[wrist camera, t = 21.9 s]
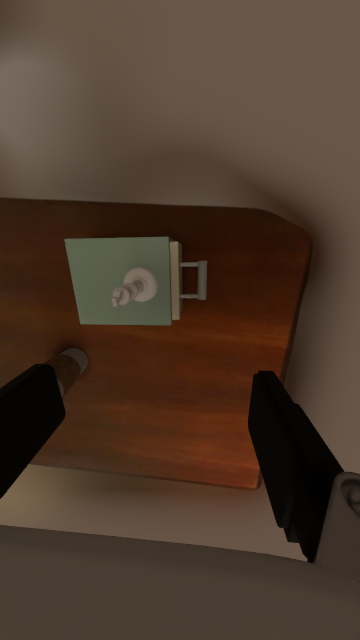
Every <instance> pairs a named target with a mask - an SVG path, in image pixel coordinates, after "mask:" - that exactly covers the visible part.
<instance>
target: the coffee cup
mask: <svg viewBox="0 0 360 640" xmlns="http://www.w3.org/2000/svg"><path fill="white" fill-rule="evenodd" d="M43 364H49V365H51V366H52V368H54V370H55V373H56V377H57V381H58V385H59V388H60V392H61V396H62V399H63V398H64V396H65V395H66V393H67V392H68V391H69V389H70V388H71V387H72V385H73V384H74V383H75V381H76V380H77V379H78V377H79V376H80V375H81V373H82V372H83V371H84V370H85V368H86V367H87V365H88V358H87V356H86V354H85V353H84V352H83V351H81V350H80V349H77V348H69V349H67V350H65V351H64V352H62V353H60V354H59V355H57V356H55V357H53V358H51V359H50V360H48V361H46V362H44V363H43Z"/></svg>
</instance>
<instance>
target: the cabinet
mask: <svg viewBox="0 0 360 640" xmlns="http://www.w3.org/2000/svg"><path fill="white" fill-rule="evenodd" d="M64 240H65V245H66V250H67V256H68V261H69V266H70V271H71V277H72V282H73V287H74V293H75V298H76V303H77V308H78V314H79V319H80V324H111V325H171V324H172V321H173V320H172V305H171V271H170V242H176V241H175V240H173V239H171V238H170V237H130V238H85V239H64ZM136 267H143V268H147V269H149V270H150V271H151V272H152V273H153V274H154V275H155V277H156V279H157V282H158V289H157V292H156V294H155V296H154V297H153V298H151V299H150V300H148V301H144V302H139V301H135V300H132V301H130V302H129V303H128V304H126V305H118V307H114V306H113V302H111V301H112V298H113V296H112V294H113V291H114V289H115V288H117V287H121V286H122V285H123V282H124V278H125V276H126V274H127V273H128V272H129V271H130V270H131V269H133V268H136Z"/></svg>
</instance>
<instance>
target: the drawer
mask: <svg viewBox="0 0 360 640" xmlns="http://www.w3.org/2000/svg"><path fill="white" fill-rule="evenodd" d="M190 266H198V294H183V292H182V267H190ZM170 271H171V305H172V320H179V319H180V315H181V311H182V307H183V298H198V299H199V300H205V299H206V286H207V261H198V262H182V244H181V243H179V242H170Z"/></svg>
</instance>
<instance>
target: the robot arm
mask: <svg viewBox="0 0 360 640" xmlns="http://www.w3.org/2000/svg"><path fill="white" fill-rule="evenodd" d="M64 418H65V408H64V404H63V400H62V396H61V392H60V388H59V385H58V381H57V377H56V373H55V370H54V368H52V366H51V365H49V364H35V365H33V366H32V367H30V368H29V369H28V370H26V371H25V372H23V373H22V374H20V375H19V376H17V377H16V378H15V379H13V380H12V381H10V382H9V383H7V384H6V385H4V386H3V387H2V388H0V499H1V498H2V497H3V496H4V494H5V493H6V492H7V490H8V489H9V488H10V487H11V485H12V484H13V483H14V482H15V480H16V479H17V478H18V477H19V475H20V474H21V473H22V472H23V470H24V469H25V468H26V467H27V465H28V464H29V463H30V461H31V460H32V459H33V458H34V456H35V455H36V454H37V453H38V451H39V450H40V449H41V448H42V446H43V445H44V444H45V443H46V441H47V440H48V439H49V438H50V436H51V435H52V434H53V432H54V431H55V430H56V429H57V427H58V426H59V425H60V424H61V422H62V421H63V420H64ZM248 428H249V432H250V436H251V439H252V442H253V446H254V449H255V452H256V456H257V459H258V463H259V466H260V469H261V473H262V476H263V479H264V483H265V486H266V489H267V493H268V496H269V499H270V503H271V506H272V510H273V513H274V516H275V520H276V523H277V525H278V526H279V527H280V528H284V531H285V534H286V538H287V541H288V542H293V543H299V544H300V547H301V550H302V553H303V554H304V555H305V557H307V562H305V561H301V560H296V559H291V558H286V557H280V556H275V555H270V554H263V553H256V552H247V551H240V550H232V549H224V548H217V547H209V546H201V545H200V546H199V545H191V544H182V543H172V542H163V541H153V540H144V539H134V538H124V537H115V536H105V535H95V534H85V533H74V532H65V531H55V530H45V529H35V528H24V527H14V526H4V525H0V640H360V474H357V473H353V472H344V470H343V469H342V467H341V466H340V464H339V463H338V461H337V460H336V459H335V457H334V455H333V454H332V452H331V451H330V449H329V448H328V446H327V445H326V444H325V442H324V441H323V439H322V438H321V436H320V435H319V433H318V432H317V430H316V429H315V427H314V426H313V424H312V423H311V422H310V420H309V418H308V417H307V416H306V414H305V413H304V411H303V410H302V408H301V407H300V406H299V405H298V404H296V403H294V402H293V401H292V399H291V398H290V396H289V394H288V393H287V391H286V390H285V388H284V387H283V385H282V384H281V382H280V381H279V379H278V378H277V376H276V375H275V373H274V372H273V371H258V374H254V376H253V384H252V392H251V400H250V408H249V417H248Z"/></svg>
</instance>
